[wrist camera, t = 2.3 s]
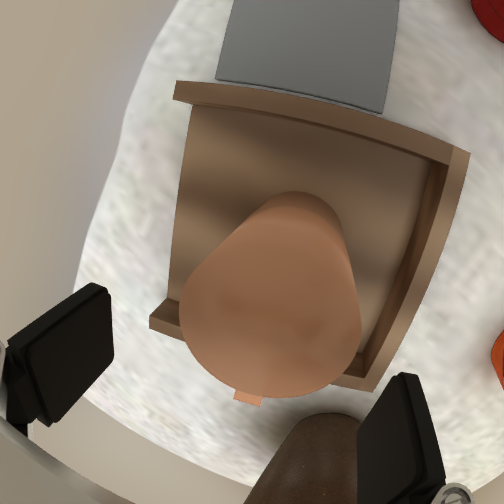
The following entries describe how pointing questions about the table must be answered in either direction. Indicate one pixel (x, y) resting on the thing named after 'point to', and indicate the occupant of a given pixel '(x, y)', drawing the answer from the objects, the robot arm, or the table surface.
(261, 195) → the brown tray
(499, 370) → the paper cup
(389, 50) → the coaster
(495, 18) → the plastic cup
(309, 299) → the tan tapered cylinder
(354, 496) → the plant pot
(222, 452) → the table surface
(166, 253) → the table surface
